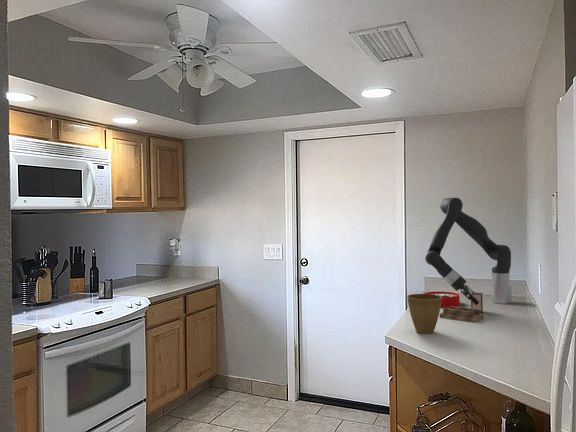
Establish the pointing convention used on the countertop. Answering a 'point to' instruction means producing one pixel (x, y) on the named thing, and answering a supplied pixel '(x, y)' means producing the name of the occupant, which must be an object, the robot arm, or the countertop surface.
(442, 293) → the toy clock
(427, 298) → the plant pot
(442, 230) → the robot arm
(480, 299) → the dark grey cuboid
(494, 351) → the countertop surface
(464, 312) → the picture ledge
